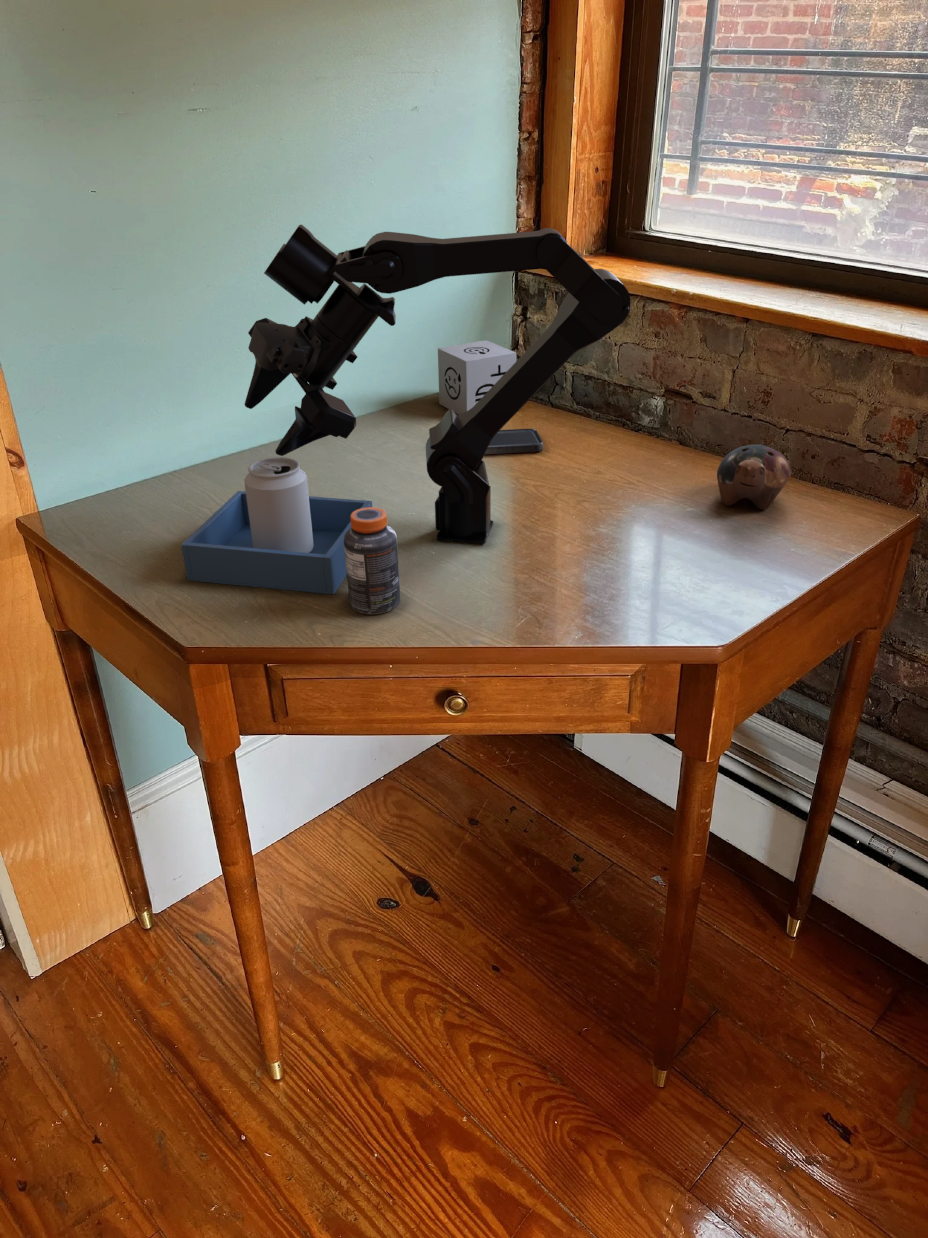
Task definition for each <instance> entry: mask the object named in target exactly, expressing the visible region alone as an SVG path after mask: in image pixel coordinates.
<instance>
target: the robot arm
mask: <svg viewBox="0 0 928 1238" xmlns="http://www.w3.org/2000/svg"><path fill="white" fill-rule="evenodd" d="M532 270H534V271H535V270H546V271H547V272H548V273H549V274H550V275H551V276H552V277H553V278H554V279H555V280H556V281H557V282H558V283H559V284H560V285H561V286H562V287H563V288H564V289H565V290H566V291H567V292H568V293H567V294H566V296H565V297H564V299H563V301H562V302H561V305H560V306H559V308H558V310H557V313H556V315H554V318H553V320H552V322H551V324H550V325H549V326H548V327H547V329H546V330H545V331H543V333H542V334H541V335H539V337H538V338H537V339H536V340H535V341H534V342H533V343H532V344H531V346H529V347H528V349H527V350H526V351H525V352H523V354H522V355H521V356H520V357H519V358H518V359H516V362H515V363H514V365H513V366H512V367H511V368H510V369H509V370H508V371H507V372H506V373H505V374H504V375H503V376H502V377H501V378H500V379H499V380H498V381H497V382H496V383H495V385H494V386H493V387H492V388H491V389H490V390H489V391H488V392H487V393H486V394H485V395H484V396H483V397H482V398H481V399H480V400H479V401H478V402H477V403H476V405H475V406H474V407H473V408H471V409H470V410H468V411H466V412H464V413H462V414H460V415H459V414H457V413H455V412H454V411H453V410H452V409H448V410H446V413H445V414H444V415H443V416H442V418H441V420H440V421H439V422H438V423H437V424H435V426H433V427H430V428H429V429H428V435H429V436H428V438H427V440H426V443H425V461H426V472H427V475H428V477H429V479H431V481H432V482H433V483H434V484H436V485H437V486H439V487H440V488H439V490H438V496H437V498H436V499H435V501H434V521H435V523H434V524H435V530H436V531H437V534H436V535H435V537H436V538H435V539H436V541H442V542H452V543H465V544H476V545H477V544H478V545H484V544H486V543H487V540H488V538H489V536H490V533H491V531H492V529H493V526H494V521H493V520H492V518H491V517H492V516H491V514H492V513H491V511H492V509H491V508H492V507H491V505H492V504H491V503H492V501H491V498H492V497H491V495H492V494H491V485H490V483H489V482H490V481H489V477H488V472H487V467H486V463H485V460H483V458H484V456H485V455H486V454H485V453H486V451H487V449H488V447H489V445H490V443H491V441H492V439H493V437H494V436H495V435H496V433H497V432H498V431H499V430H502V428H503V427H504V426H506V424H508V423H509V421H510V420H511V419H512V418H514V416H515V415H516V414H517V413H519V411H520V410H521V409H522V408H523V407H524V406H525V405H526V404H527V403H528V402H529V401H530V400H531V398H533V397H534V396H535V395H536V394H537V392H539V390H540V389H541V388H543V387H544V386H545V384H546V383H547V382H548V381H549V380H550V379H551V378H552V377H553V376H554V375H555V374H556V373H557V372H558V371H559V370H560V369H561V368H562V367H563V366H564V365H565V364H566V363H567V362H568V361H569V360H570V359H571V358H572V357H573V356H574V355H575V354H576V353H577V352H579V351H581V350H583V349H585V348H587V347H589V346H591V345H593V344H595V343H596V342H597V343H598V342H599V341H600V340H602V339H603V338H604V337H606V336H607V335H609V334H610V333H611V332H613V331H614V330H615V329H617V328H618V327H619V326H620V325H622V324H623V323H624V322H625V320H626V319H627V317H628V316H629V315H630V312H631V300H632V299H631V296H630V292H629V290H628V288H627V287H626V286H625V285H624V284H623V282H622V281H621V280H620V279H619V278H618V277H617V276H616V275H615V274H614V273H612V272H611V271H610V270H608V269H604V268H594V267H593V266H592V265H591V264H590V263H588V261H586V260H585V259H584V258H583V257H582V256H581V255H580V254H579V253H578V252H577V251H576V250H575V249H574V248H573V247H572V246H571V245H569V244H568V241H567V240H566V238H565V237H564V236H563V235H562V234H561V232H559V231H558V230H557V229H555V228H550V227H545V228H541V229H539V230H535V231H520V232H509V233H508V232H507V233H499V234H497V233H496V234H486V235H485V234H484V235H474V236H473V235H472V236H460V237H459V236H458V237H448V238H436V237H430V236H424V235H419V234H415V233H405V232H395V231H382V232H378V233H376V234H374V235H372V236H371V237H370V238H369V240H368V241H367V242H366V243H365V245H364V246H359V247H356V248H352V249H348V250H347V249H345V250H344V251H340V252H338V253H337V254H336V253H335V252H334V251H332V250H331V249H330V248H329V247H328V246H326V245H325V244H324V243H322V242H321V241H320V240H319V239H318V238H317V237H315V236H314V234H313V233H312V231H310V230H309V229H308V228H307V227H306V226H305V225H303V224H298V226H297V227H296V229H295V230H294V232H293V233H292V234H291V236H290V237H289V238H288V240H287V241H286V242H285V243H283V244H282V245H281V247H280V248H279V249H278V251H277V252H276V254H275V255H274V257H273V259H272V260H271V262H270V263H269V264H268V266H267V267H266V269H265V270H264V272H263V274H264V275H265V276H266V277H268V278H269V279H271V280H272V281H273V282H274V283H276V284H277V285H278V286H280V287H281V288H282V289H283V290H285V291H286V293H288V294H290V295H291V296H292V297H294V299H297V300H298V301H299V302H300V303H302V305H306V304H307V303H310V304H311V305H312V304H313V303H316V304H319V303H320V302H321V300H322V299H323V298H324V296H325V295H326V294H327V292H328V291H329V290H330V288H331V287H332V285H333V284H334V282H335V283H336V284H337V286H336V287H335V289H334V290H333V292H332V293H331V294H330V295H329V297H328V299H327V300H326V301H325V303H324V304H323V305H322V307H321V308H320V309H319V311H318V312H317V313H316V315H315V316H314V317H313V318H311V317H308V316H307V315H306V316H304V318H301V319H300V320H299V321H298V323H297V324H296V325H295V326H291V325H288V324H285V323H278V322H275V321H274V320H272V319H270V318H267V317H264V318H261V319H257V320H255V321H254V323H253V325H252V326H251V328H250V329H249V331H248V332H247V334H248V335H249V337H250V341H249V344H248V350H249V352H250V353H252V354H253V355H254V359H255V363H254V368H253V372H252V377H251V381H250V382H249V383H250V384H249V387H248V391H247V394H246V397H245V401H244V403H243V404H244V407H245V408H246V409H250V410H253V409H254V408H256V407H257V405H259V404H260V403H261V402H262V401H264V400H265V399H266V397H268V396H269V395H270V394H271V393H272V392H273V391H274V390H275V389H276V388H277V387H278V386H280V385H281V384H282V382H283V381H285V380H286V378H287V377H289V376H290V375H292V376H293V378H294V379H295V381H296V382H297V383H298V385H299V386H300V388H301V389H302V391H303V392H304V393H305V394H304V396H303V397H302V398H301V401H300V402H301V403H300V407H299V406H296V405H295V406H294V414H295V415H294V416H295V419H294V421H293V422H292V424H291V425H290V427H289V428H288V430H287V431H286V433H285V434H284V436H283V437H282V439H281V440H280V442H279V443H278V444H277V447H276V449H275V451H274V453H275V454H276V456H277V455H278V456H279V457H284V456H285V455H288V454H289V453H291V452H294V451H296V450H298V449H300V448H302V447H304V446H306V445H309V444H311V443H312V442H315V441H318V440H320V439H323V438H326V437H329V436H332V437H334V438H338V437H340V438H342V439H346V440H347V438H349V436H350V435H351V434H352V432H353V431H354V430H355V428H356V427H357V417H356V416H355V415H354V413H353V411H352V410H351V409H350V408H349V406H348V405H347V403H346V402H345V401H344V400H343V399H341V398H339V397H337V396H335V395H332V394H330V393H328V392H326V391H325V390H324V388H327V389H329V390H332V391H333V390H334V389H335V388H336V386H337V385H338V382H337V381H336V380H335V378H334V377H335V375H336V374H337V373H338V371H339V370H340V369H341V367H342V366H343V365H344V364H345V362H346V361H347V362H349V363H350V364H354V363H355V362H356V360H357V359H358V355H357V354H356V353H355V351H354V350H355V349H356V347H357V346H358V345H359V343H360V342H361V341H362V339H363V338H364V337H365V336H366V334H368V331H369V330H370V329H371V327H372V326H373V325H374V324H375V322H376V321H377V319H378V318H380V319H381V320H383V321H384V322H385V323H386V324H388V325H389V326H390V327H393V326H395V325H396V318H397V317H396V312H395V305H396V298H395V297H394V296H391V297H383V296H381V295H380V294H379V293H381V294H387V295H388V294H389V295H390V294H396V293H399V292H403V291H407V290H409V289H410V290H411V289H414V288H418V287H420V286H423V285H426V284H429V283H430V282H433V281H435V280H440V279H444V278H449V277H460V276H471V275H484V274H485V275H486V274H495V273H497V274H498V273H509V272H510V273H511V272H519V271H532ZM355 283H356V284H357V283H358V284H362V285H360V286H358V285H356V284H355Z"/></svg>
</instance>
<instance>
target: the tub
mask: <svg viewBox="0 0 928 1238" xmlns="http://www.w3.org/2000/svg"><path fill="white" fill-rule="evenodd" d="M309 504H310V514H311V524H312V534H313V544H314V547H313V549H312V551H311V552H309V553H302V552H291V551H280V550H268V549H257V548H253V542H252V534H251V527H250V520H249V512H248V505H247V498H246V491H245V490H237V491H236V492H235V493H234V494H233V495H232V496H231V497H230V498H229V499H228V500H227V501H226V502H224V504H223V505H221V506H220V507H219V508H218V509H217V510H216V511H215V512H214V513H213V514H212V515H211V516H210V517H208V518H207V519H206V521H205V522H203V523H202V524H201V525H200V526H199V527H198V528H197V529H196V530H195V531H194V532H193V533H191V534H190V535H189V536H188V538H186V539H185V540H184V541H183V542H182V543H181V544H180V548H181V553H182V557H183V558H182V560H183V563H184V569H185V576H186V580H187V581H189V582H202V583H209V584H210V583H211V584H221V585H231V586H241V587H242V586H243V587H251V588H252V587H254V588H264V589H272V590H273V589H274V590H284V591H295V592H304V593H314V594H315V593H316V594H323V595H324V594H325V595H334V594H335V593H336V592H337V589H339V587H340V585H341V584H342V582H343V581H344V579H345V578H347V572H346V561H345V550H344V536H345V534H346V532H347V531H348V530H349V529H350V528H352V527H351V518H350V516H351V514H352V512H354V511H355V510H358V509H361V508H367V507H373V500H365V499H364V500H362V499H350V498H339V497H338V498H336V497H324V496H311V495H310V496H309Z"/></svg>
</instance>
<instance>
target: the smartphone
mask: <svg viewBox="0 0 928 1238" xmlns="http://www.w3.org/2000/svg"><path fill="white" fill-rule="evenodd" d="M543 449H544V442H543V439H542V438H541V436H540V434H539V432H538V430H537V429H535V428H515V429H513V428H511V429H500V430H499V431H498V432H497V433H496V435H495V436H494V437H493V439H492V441H491V443H490V445H489V447H488V449H487V451H486V453H485V455H497V454H499V455H500V454H517V453H518V454H519V453H537V452H538V453H539V452H542V451H544V450H543Z"/></svg>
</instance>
